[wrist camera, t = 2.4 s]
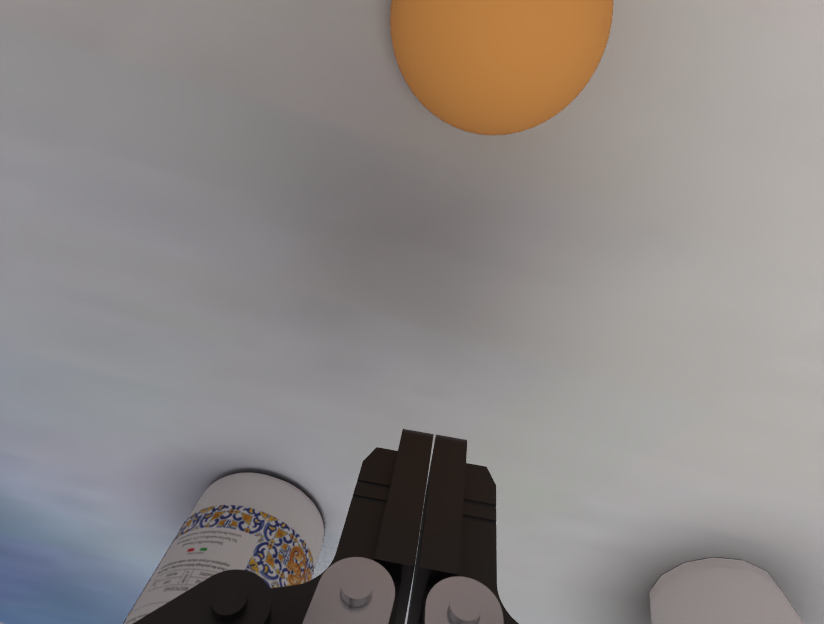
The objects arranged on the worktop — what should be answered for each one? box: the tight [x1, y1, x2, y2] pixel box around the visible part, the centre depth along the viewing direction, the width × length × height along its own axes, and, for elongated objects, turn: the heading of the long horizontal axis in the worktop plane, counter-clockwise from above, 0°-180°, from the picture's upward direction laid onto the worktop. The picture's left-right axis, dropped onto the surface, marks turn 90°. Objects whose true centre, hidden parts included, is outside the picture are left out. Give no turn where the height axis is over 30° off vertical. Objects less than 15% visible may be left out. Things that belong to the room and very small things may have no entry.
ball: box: [390, 0, 613, 135], centre depth 16 cm, size 6×6×6 cm
